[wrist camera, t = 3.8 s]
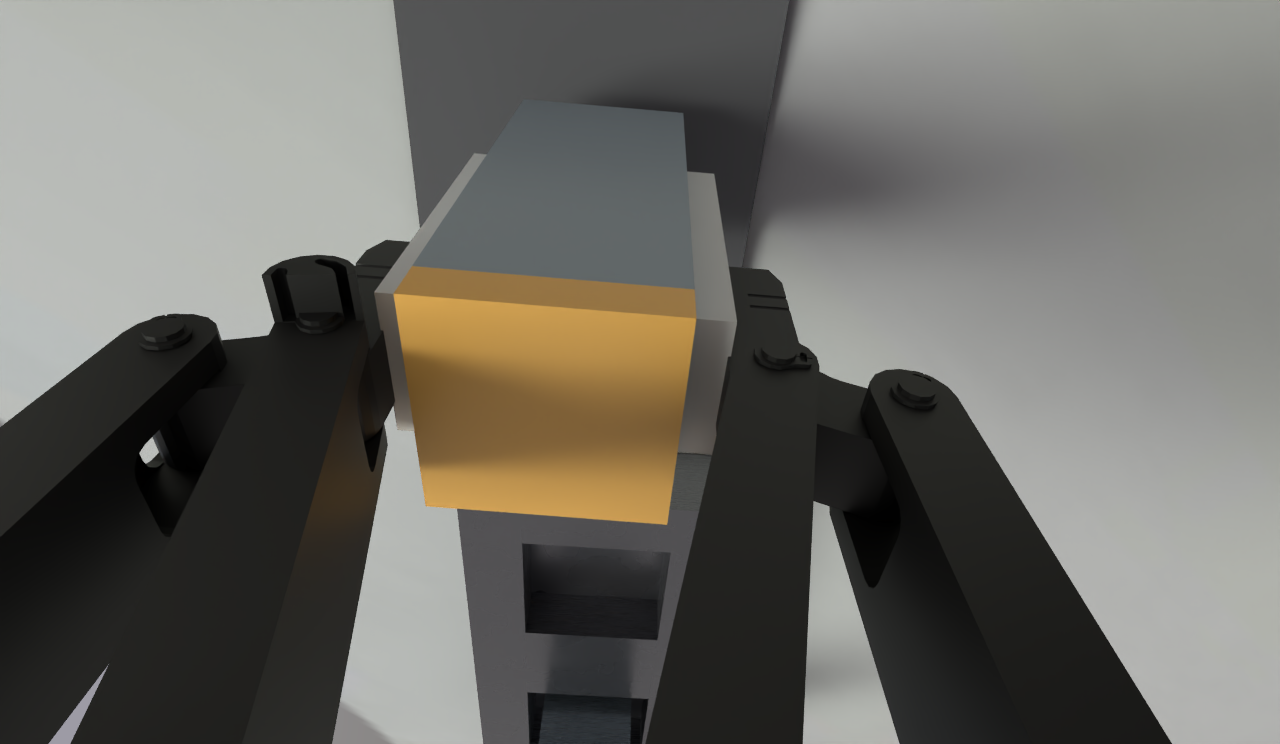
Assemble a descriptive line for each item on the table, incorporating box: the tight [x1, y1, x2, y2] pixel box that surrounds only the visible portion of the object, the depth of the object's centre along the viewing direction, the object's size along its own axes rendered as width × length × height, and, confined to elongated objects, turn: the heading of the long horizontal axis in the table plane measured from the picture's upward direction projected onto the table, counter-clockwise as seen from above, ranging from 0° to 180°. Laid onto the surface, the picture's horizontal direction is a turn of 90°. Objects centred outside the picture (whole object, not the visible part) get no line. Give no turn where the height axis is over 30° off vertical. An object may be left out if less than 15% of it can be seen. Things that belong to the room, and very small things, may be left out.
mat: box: [393, 0, 789, 268], centre depth 20 cm, size 10×10×1 cm
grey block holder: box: [457, 453, 712, 744], centre depth 28 cm, size 10×20×11 cm, turn 176°
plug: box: [393, 99, 697, 525], centre depth 14 cm, size 4×4×10 cm
